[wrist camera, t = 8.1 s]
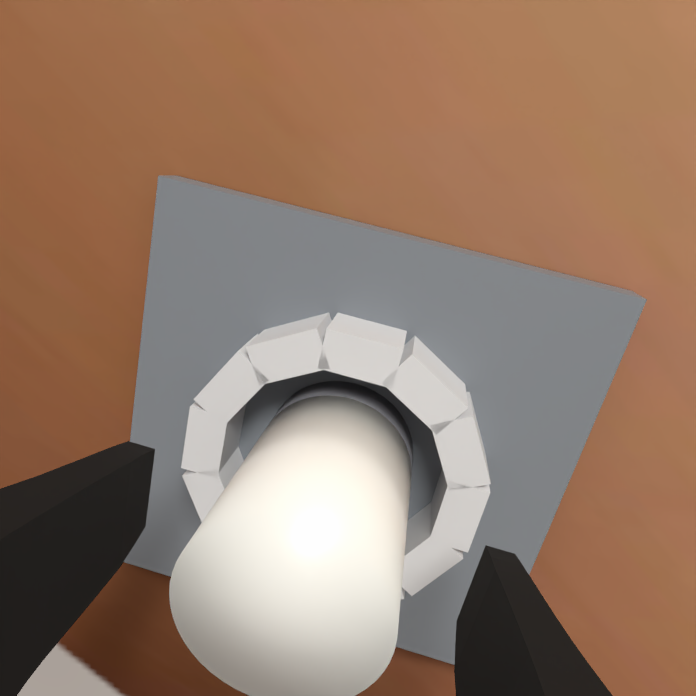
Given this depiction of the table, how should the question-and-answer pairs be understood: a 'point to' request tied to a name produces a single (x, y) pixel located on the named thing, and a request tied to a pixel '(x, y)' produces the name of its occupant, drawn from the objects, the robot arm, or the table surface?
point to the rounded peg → (304, 551)
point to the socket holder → (369, 375)
